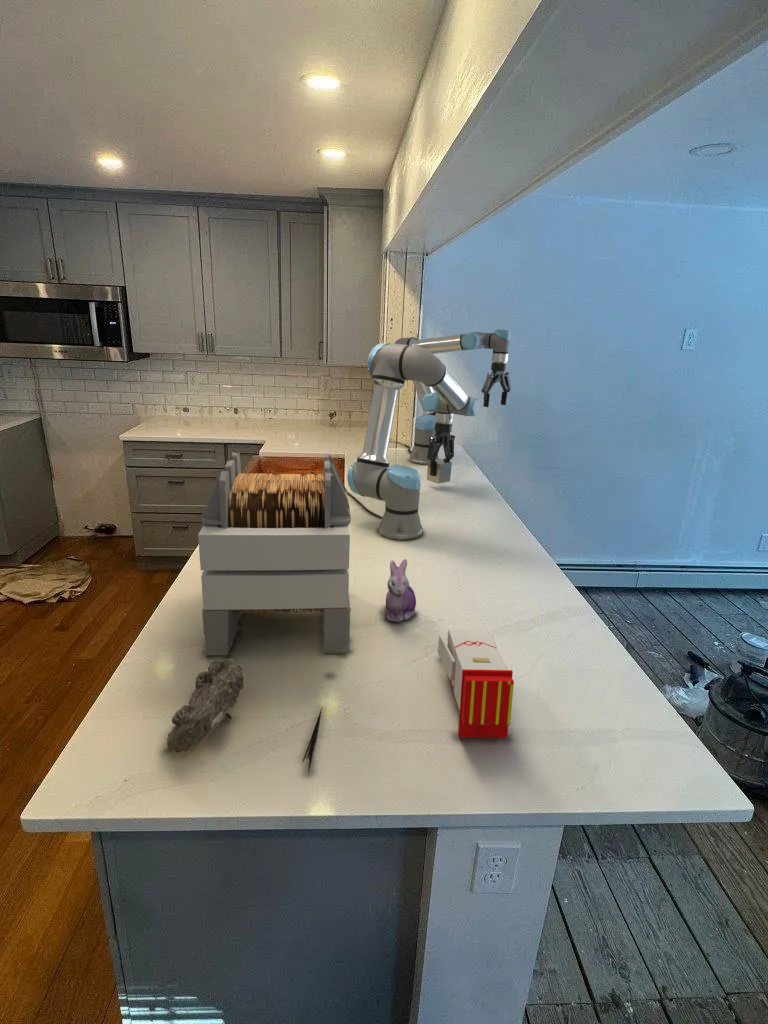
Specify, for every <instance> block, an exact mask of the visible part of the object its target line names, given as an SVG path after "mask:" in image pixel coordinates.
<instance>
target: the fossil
mask: <svg viewBox="0 0 768 1024" xmlns="http://www.w3.org/2000/svg"><path fill="white" fill-rule="evenodd" d="M243 670H244V669H243V667H242V665H240V664H237V662H236V661H235V660H234V659H232V658H231V659H227V658H226V659H224V660H223V661H222V660H217V659H212V660H211V661H210V663H209V665H208V666H207V671H201V672H199V673H198V674H197V675H196V676H195V680H194V684H195V685H194V687H195V689H194V690H193V693H192V694H191V697H190V698H189V700H188V704H184V705H182V706H181V707H180V709H177V710H176V711H175V713H174V715H173V716H172V718H171V723H172V724H173V727H172V730H171V731H170V732H168V734H167V738H166V741H167V742H166V745H167V749H168V750H169V751H173V752H174V753H176V754H178V753H182V752H188V751H189V752H192V751H193V750H195V748H196V747H197V746H199V744H200V743H201V742H203V741H204V740H205V739H206V738H207V737H208V736H209V735H210V734H211V733H212V732H214V730H215V729H217V727H218V726H219V724H220V722H221V721H222V720H223V719H224V718H225V716H226V717H227V719H229V720H233V717H232V715H230V714H229V710H230V709H231V708H234V706H235V704H236V703H237V702H238V699H239V697H240V695H241V693H242V691H243V690H245V689H244V688H245V675H244V671H243Z"/></svg>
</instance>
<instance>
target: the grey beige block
mask: <svg viewBox="0 0 768 1024" xmlns="http://www.w3.org/2000/svg"><path fill="white" fill-rule="evenodd" d="M436 462H437V466H436V476H432V475H430V469H431V468H430V460H429V461H428V465H427V473H426V481H429V482H432V483H435V484H439V485H440V484H445V483H449V482H451V474H452V465H453V462H451V461H450V462H449V461H445V460H444V459H442V458H439V459H436Z"/></svg>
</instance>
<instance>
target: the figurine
mask: <svg viewBox="0 0 768 1024" xmlns="http://www.w3.org/2000/svg"><path fill="white" fill-rule="evenodd" d="M407 567H408V559H406V558H404V559H403V560H402V561H401V563H400V565H399V566H398V565H397V563H396V562H395V561H394V560H393V559H391V560H390V561H389V570H390V576H389V578H388V579H387V589H388V591H387V592H386V594H385V595H386V596H385V607H384V615H385V616H386V620H387V621H391V622H395V623H400V622H402V621H406V620H409V619H410V618H411V617H413V616H414V615H415V610H416V606H417V597H416V593H415V591H414V590H413V587H411V586H410V582H409V579H408V577H407V574H406V571H407Z"/></svg>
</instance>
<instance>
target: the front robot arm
mask: <svg viewBox="0 0 768 1024" xmlns="http://www.w3.org/2000/svg"><path fill="white" fill-rule="evenodd" d="M366 367H367V372H368V374H369V375H370V377H371V382H372V384H373V386H374V388H373V392H372V399H371V405H370V410H369V415H368V422H367V427H366V431H365V438H364V442H363V449H362V453H361V454H359V455H358V456H357V459H356V461H354V462H352V463H351V464H350V466H349V467H348V470H347V478H346V479H347V484H348V487H349V489H350V491H351V492H352V493H353V494H355V495H358V496H361V497H362V498H363V497H365V498H371V499H373V500H379V501H382V502H385V504H384V505H385V507H384V508H385V509H384V513H383V515H382V516H381V515H380V514H377V513H375V512H373V511H372V510H370V509H368V508H367V507H366V506H365V505H364V504H363V503H362V502H361V501H360V500H358V499H357V497H355V496H354V495H352V494H351V493H350V492H349V491H347V495H348V496H349V497H351V498H352V499H353V500H354V501H355V502H356V503H357V504H359V505H360V506H361V507H362V508H363V509H364V511H366V512H368V513H369V514H371V515H373V516H375V517H377V518H379V519H381V522H379V525H378V533H379V534H380V535H381V536H382V537H385V538H387V539H389V540H395V541H410V540H415V539H418V538H420V537H421V536H422V535H423V525H422V524H421V518H420V515H419V507H420V506H419V505H420V496H421V495H420V494H421V493H420V492H421V486H422V485H421V474H420V472H419V471H418V470H417V469H415V468H413V467H411V466H408V465H403V464H401V465H400V464H391V465H390V461H389V459H388V458H387V456H388V451H389V445H390V441H389V440H390V438H391V434H392V428H393V423H394V418H395V412H396V407H397V403H398V402H397V401H398V397H399V396H398V395H399V391H400V390H401V389H402V388H403V387H405V382H406V381H412V382H413V381H418V382H422V383H423V384H425V385H426V386H429V387H432V388H433V391H434V393H429V394H427V395H425V396H424V397H423V400H422V406H423V408H424V409H425V410H426V411H427V412H435V411H436V416H435V421H436V423H435V428H434V430H435V432H436V433H435V436H434V437H430V438H429V440H430V443H429V449H428V455H427V459H428V460H430V468H431V469H430V475H432V476H436V466H437V462H436V458H437V455H438V456H439V452H440V450H441V448H442V447H443V451H444V452H443V453H444V458H443V460H445V461H449V462H451V460H453V458H454V457H455V440H456V435H454V434H451V433H452V432H453V424H452V423H454V422H453V421H454V415H458V416H464V417H475V416H476V415H477V414H478V411H479V407H480V401H479V399H478V397H475V396H469V395H467V393H466V392H465V391H464V389H462V388H461V386H460V385H459V384H458V383H457V382H456V380H454V379H453V377H452V376H451V375H450V374H449V373H448V372H447V367H446V364H444V362H443V361H442V360H441V359H440V358H439V357H438V356H436V355H435V354H432V353H431V352H429V351H428V350H426V349H424V348H422V347H419V346H414V345H403V344H394V342H393V343H392V342H387V343H384V342H383V343H377V344H376V345H375V346H374V347H372V349H371V350H370V351H369V355H368V357H367V362H366ZM422 406H421V407H422ZM310 474H315V477H316V474H317V473H315V472H313V471H310Z"/></svg>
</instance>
